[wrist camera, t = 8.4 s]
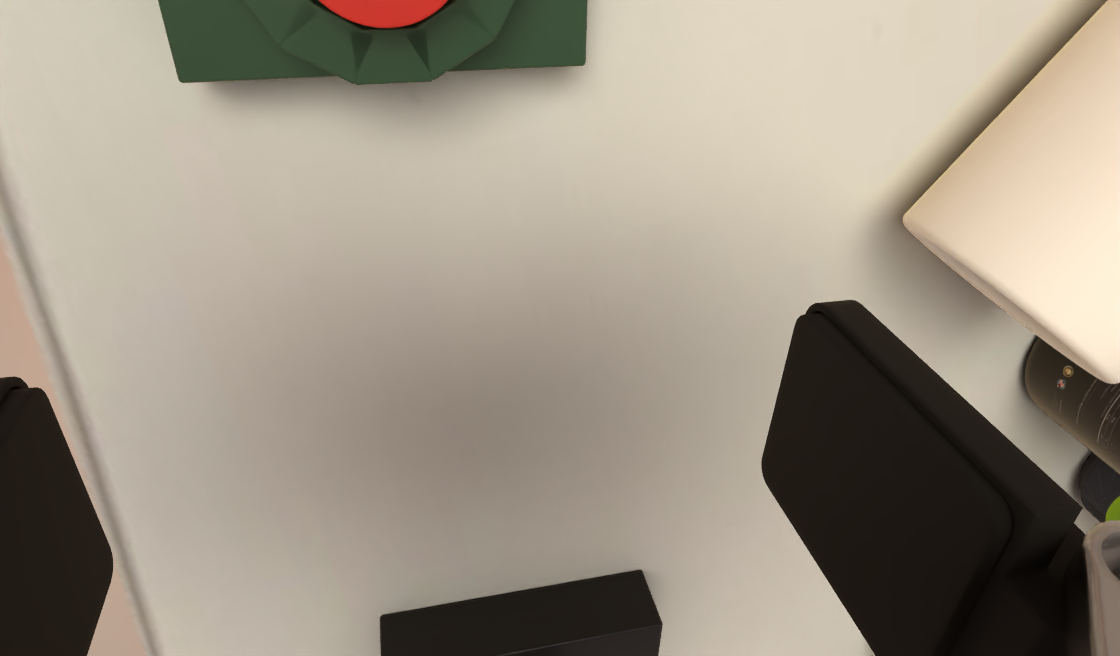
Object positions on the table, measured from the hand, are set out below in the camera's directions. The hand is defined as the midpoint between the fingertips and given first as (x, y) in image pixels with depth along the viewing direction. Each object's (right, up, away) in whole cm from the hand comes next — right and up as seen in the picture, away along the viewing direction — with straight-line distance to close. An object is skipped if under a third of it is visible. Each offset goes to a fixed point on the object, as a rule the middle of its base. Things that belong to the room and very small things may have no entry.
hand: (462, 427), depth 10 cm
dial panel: (-1, -15, +27) cm, 31 cm away
